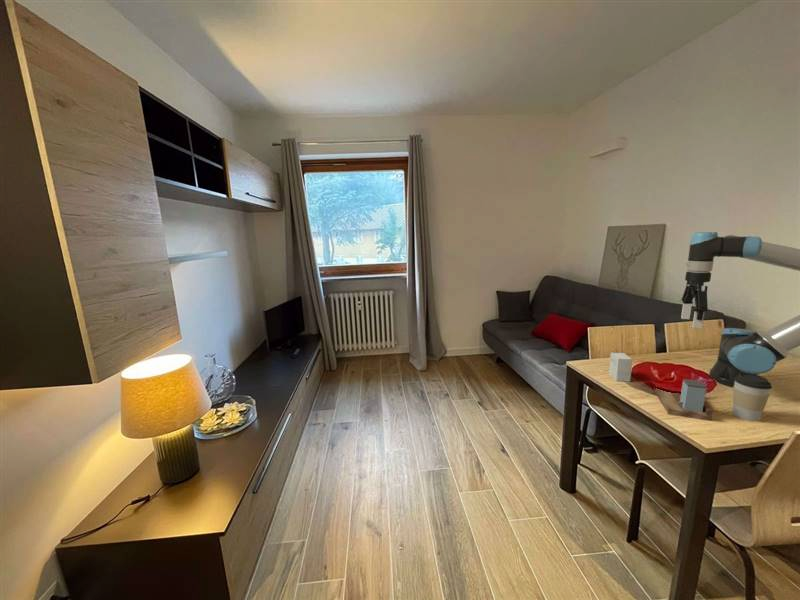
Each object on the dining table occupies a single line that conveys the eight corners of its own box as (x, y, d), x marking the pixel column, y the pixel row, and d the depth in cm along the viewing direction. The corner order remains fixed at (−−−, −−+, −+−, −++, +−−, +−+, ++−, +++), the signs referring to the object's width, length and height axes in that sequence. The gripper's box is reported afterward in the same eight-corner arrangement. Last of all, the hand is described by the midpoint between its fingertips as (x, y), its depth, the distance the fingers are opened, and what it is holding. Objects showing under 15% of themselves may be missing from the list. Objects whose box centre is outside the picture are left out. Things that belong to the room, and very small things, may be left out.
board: (691, 396, 131) (693, 387, 130) (711, 421, 114) (713, 411, 113) (654, 390, 136) (655, 382, 135) (668, 414, 119) (669, 404, 118)
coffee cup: (763, 415, 116) (771, 375, 113) (766, 426, 110) (775, 384, 107) (727, 406, 122) (734, 368, 119) (728, 417, 116) (736, 377, 113)
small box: (630, 382, 144) (632, 359, 142) (615, 381, 145) (618, 358, 143) (622, 374, 151) (624, 352, 149) (608, 373, 153) (610, 352, 150)
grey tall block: (696, 405, 120) (700, 381, 118) (702, 412, 115) (706, 387, 114) (675, 402, 122) (679, 378, 120) (680, 409, 118) (684, 384, 116)
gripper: (676, 267, 144) (670, 315, 148) (698, 275, 122) (690, 330, 126) (699, 268, 141) (691, 316, 145) (725, 275, 119) (715, 332, 123)
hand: (690, 323), depth 136 cm, fingers open, 13 cm apart
